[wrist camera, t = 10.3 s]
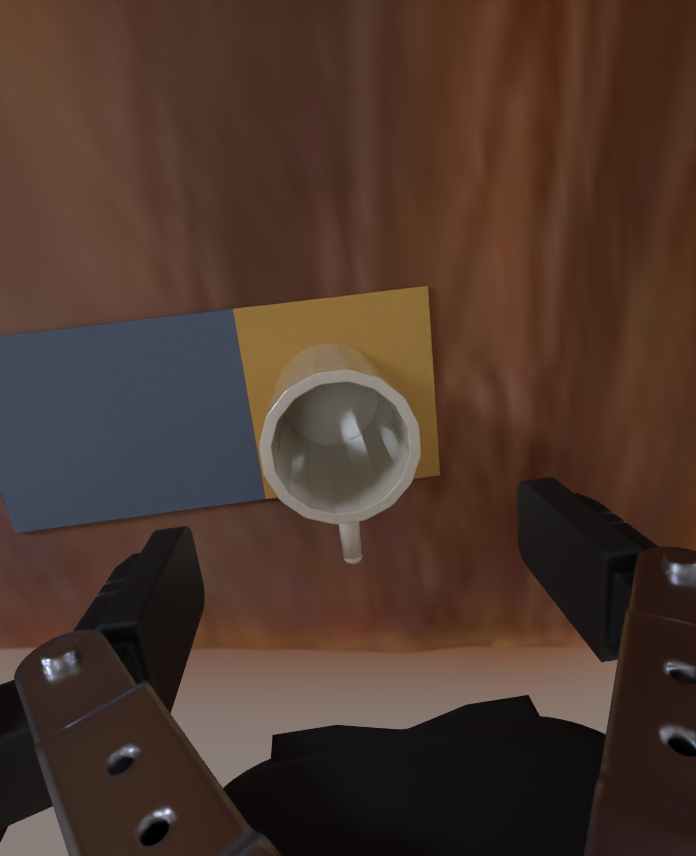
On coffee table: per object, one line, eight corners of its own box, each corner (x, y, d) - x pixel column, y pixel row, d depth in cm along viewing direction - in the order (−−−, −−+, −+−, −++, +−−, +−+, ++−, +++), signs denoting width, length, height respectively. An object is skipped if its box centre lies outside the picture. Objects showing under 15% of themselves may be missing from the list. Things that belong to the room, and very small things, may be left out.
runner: (-47, 342, 26) (-49, 342, 26) (427, 286, 27) (428, 285, 27) (16, 531, 29) (14, 533, 29) (439, 474, 30) (440, 475, 30)
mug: (267, 350, 27) (247, 381, 18) (378, 336, 27) (414, 361, 18) (291, 502, 29) (284, 597, 20) (392, 488, 30) (430, 576, 21)
